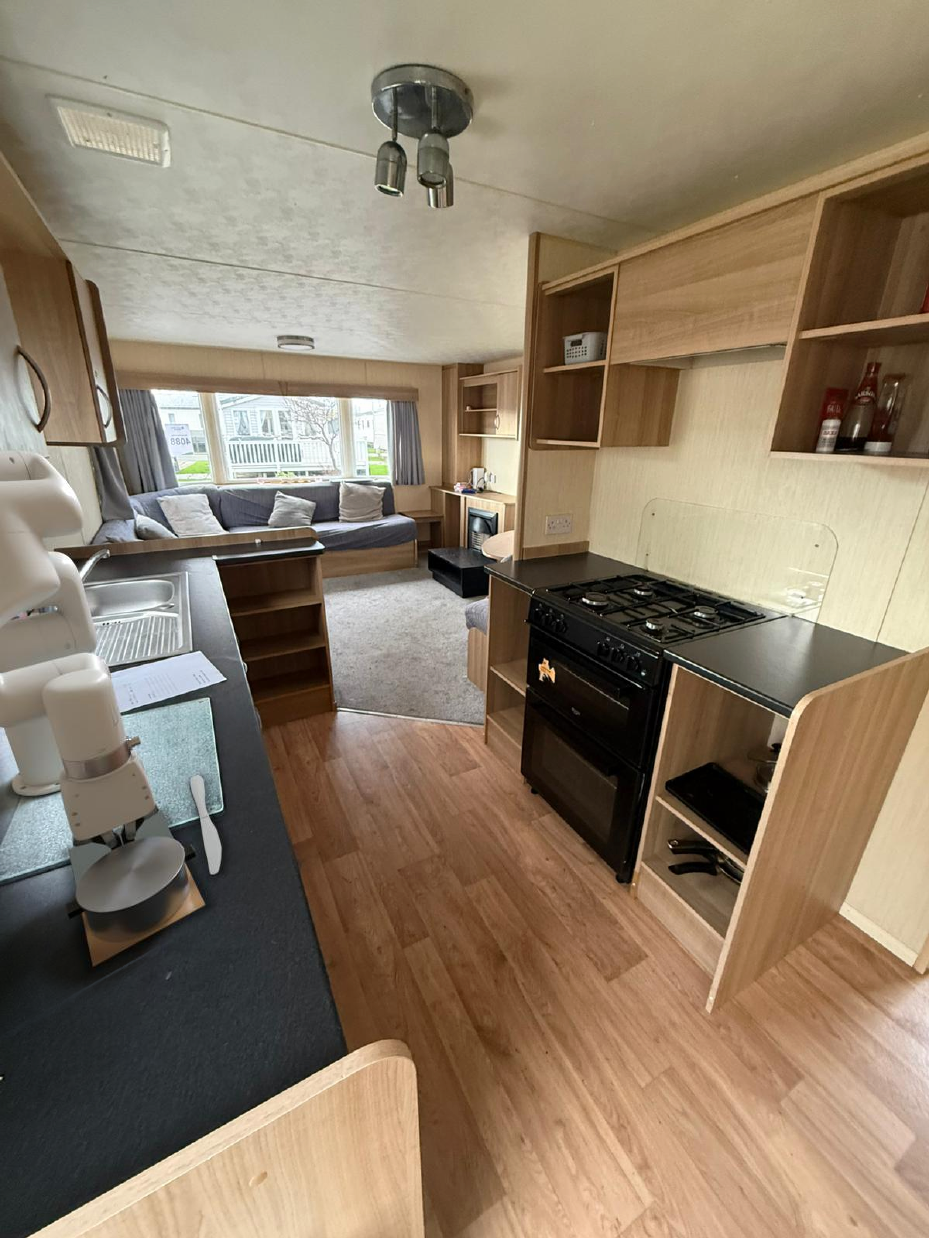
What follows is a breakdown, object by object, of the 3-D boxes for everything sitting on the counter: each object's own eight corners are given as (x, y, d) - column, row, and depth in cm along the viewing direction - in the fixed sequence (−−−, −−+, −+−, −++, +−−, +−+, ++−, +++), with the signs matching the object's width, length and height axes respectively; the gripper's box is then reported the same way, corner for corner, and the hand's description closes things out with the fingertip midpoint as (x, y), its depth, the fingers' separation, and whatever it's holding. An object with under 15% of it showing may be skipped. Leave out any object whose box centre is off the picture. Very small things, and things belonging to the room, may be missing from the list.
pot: (69, 904, 70) (58, 873, 68) (186, 848, 80) (179, 819, 78) (83, 971, 61) (71, 937, 59) (212, 899, 71) (205, 868, 69)
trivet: (79, 902, 71) (79, 900, 71) (180, 854, 79) (180, 852, 79) (93, 967, 62) (93, 966, 62) (205, 906, 70) (205, 904, 70)
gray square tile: (68, 851, 79) (68, 849, 79) (161, 812, 88) (160, 811, 88) (79, 902, 71) (79, 900, 71) (180, 854, 79) (180, 852, 79)
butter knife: (206, 771, 97) (189, 776, 96) (227, 869, 76) (205, 876, 74) (206, 774, 98) (189, 778, 96) (227, 872, 76) (205, 879, 75)
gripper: (152, 726, 77) (174, 821, 84) (26, 766, 68) (63, 870, 74) (164, 748, 72) (187, 847, 78) (30, 794, 63) (69, 903, 69)
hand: (126, 858), depth 76 cm, fingers closed
